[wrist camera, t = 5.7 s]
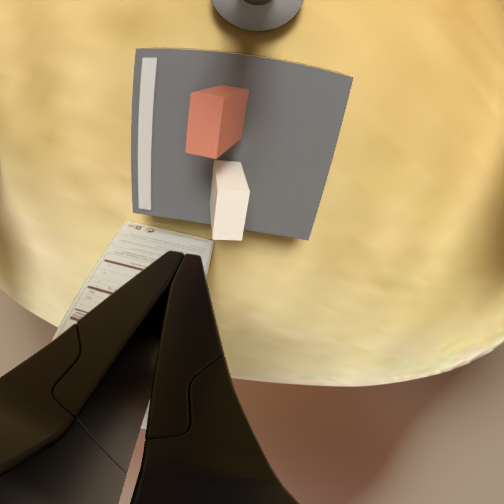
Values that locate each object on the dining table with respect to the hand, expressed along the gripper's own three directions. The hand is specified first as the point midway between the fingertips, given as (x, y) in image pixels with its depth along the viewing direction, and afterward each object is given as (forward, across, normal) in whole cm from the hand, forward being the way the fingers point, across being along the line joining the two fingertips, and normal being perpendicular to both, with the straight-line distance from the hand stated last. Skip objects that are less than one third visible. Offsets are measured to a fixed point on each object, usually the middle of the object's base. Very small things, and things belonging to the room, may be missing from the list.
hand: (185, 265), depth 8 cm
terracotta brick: (+10, 0, -2) cm, 10 cm away
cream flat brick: (+10, 0, +2) cm, 10 cm away
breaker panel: (+13, 0, 0) cm, 13 cm away
